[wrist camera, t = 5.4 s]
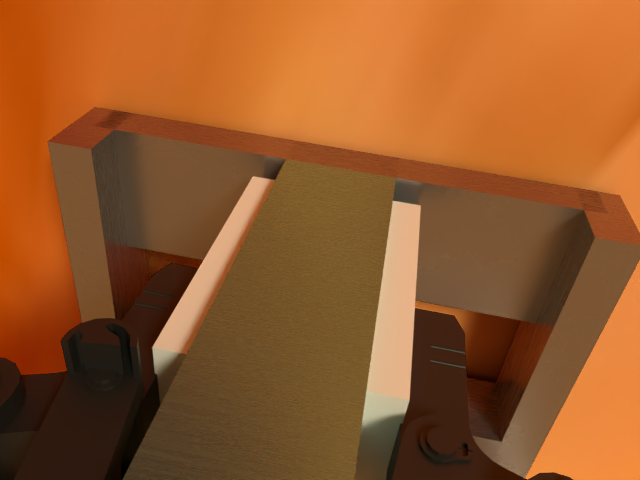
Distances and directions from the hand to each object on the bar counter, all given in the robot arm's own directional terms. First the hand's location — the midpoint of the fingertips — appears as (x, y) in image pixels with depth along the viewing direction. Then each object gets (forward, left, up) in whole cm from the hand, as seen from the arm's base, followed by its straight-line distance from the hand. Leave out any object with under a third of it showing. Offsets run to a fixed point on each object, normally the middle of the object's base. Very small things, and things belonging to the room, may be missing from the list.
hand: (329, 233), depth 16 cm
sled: (+8, 0, -2) cm, 9 cm away
